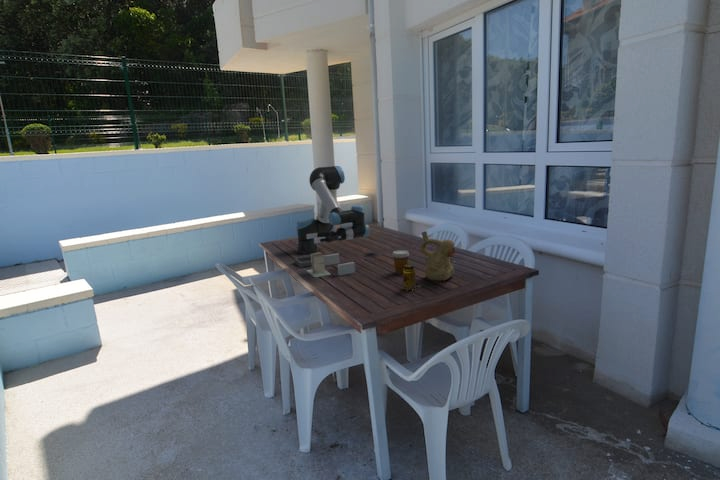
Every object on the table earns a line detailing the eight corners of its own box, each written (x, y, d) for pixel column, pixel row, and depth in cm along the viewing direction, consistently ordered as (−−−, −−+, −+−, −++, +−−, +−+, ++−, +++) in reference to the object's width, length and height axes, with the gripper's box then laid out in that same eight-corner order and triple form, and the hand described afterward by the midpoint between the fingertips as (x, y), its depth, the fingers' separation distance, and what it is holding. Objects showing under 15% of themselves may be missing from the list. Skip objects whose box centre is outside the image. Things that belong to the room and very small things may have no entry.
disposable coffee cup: (398, 276, 237) (398, 255, 234) (389, 272, 245) (389, 251, 242) (413, 272, 241) (412, 252, 238) (403, 268, 249) (403, 249, 247)
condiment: (400, 289, 216) (399, 266, 214) (409, 284, 223) (408, 262, 220) (412, 291, 212) (411, 268, 209) (421, 286, 218) (420, 264, 215)
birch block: (312, 271, 254) (310, 253, 251) (321, 270, 256) (320, 252, 253) (315, 274, 248) (313, 256, 246) (325, 272, 251) (323, 254, 248)
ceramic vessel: (450, 284, 219) (449, 236, 213) (415, 279, 229) (413, 234, 223) (461, 274, 233) (461, 230, 227) (427, 270, 243) (426, 227, 237)
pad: (306, 270, 257) (306, 270, 257) (321, 267, 261) (321, 267, 261) (314, 277, 243) (314, 277, 243) (331, 274, 247) (331, 274, 247)
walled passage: (323, 265, 267) (323, 255, 266) (338, 262, 271) (337, 253, 269) (339, 275, 244) (338, 265, 242) (355, 272, 248) (354, 262, 246)
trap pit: (294, 262, 276) (294, 258, 275) (315, 259, 281) (315, 254, 280) (301, 268, 263) (300, 263, 262) (322, 264, 269) (322, 259, 268)
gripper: (353, 243, 244) (318, 249, 236) (337, 236, 266) (304, 241, 258) (352, 231, 242) (317, 236, 234) (336, 224, 265) (303, 228, 256)
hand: (310, 238), depth 246 cm, fingers open, 13 cm apart
